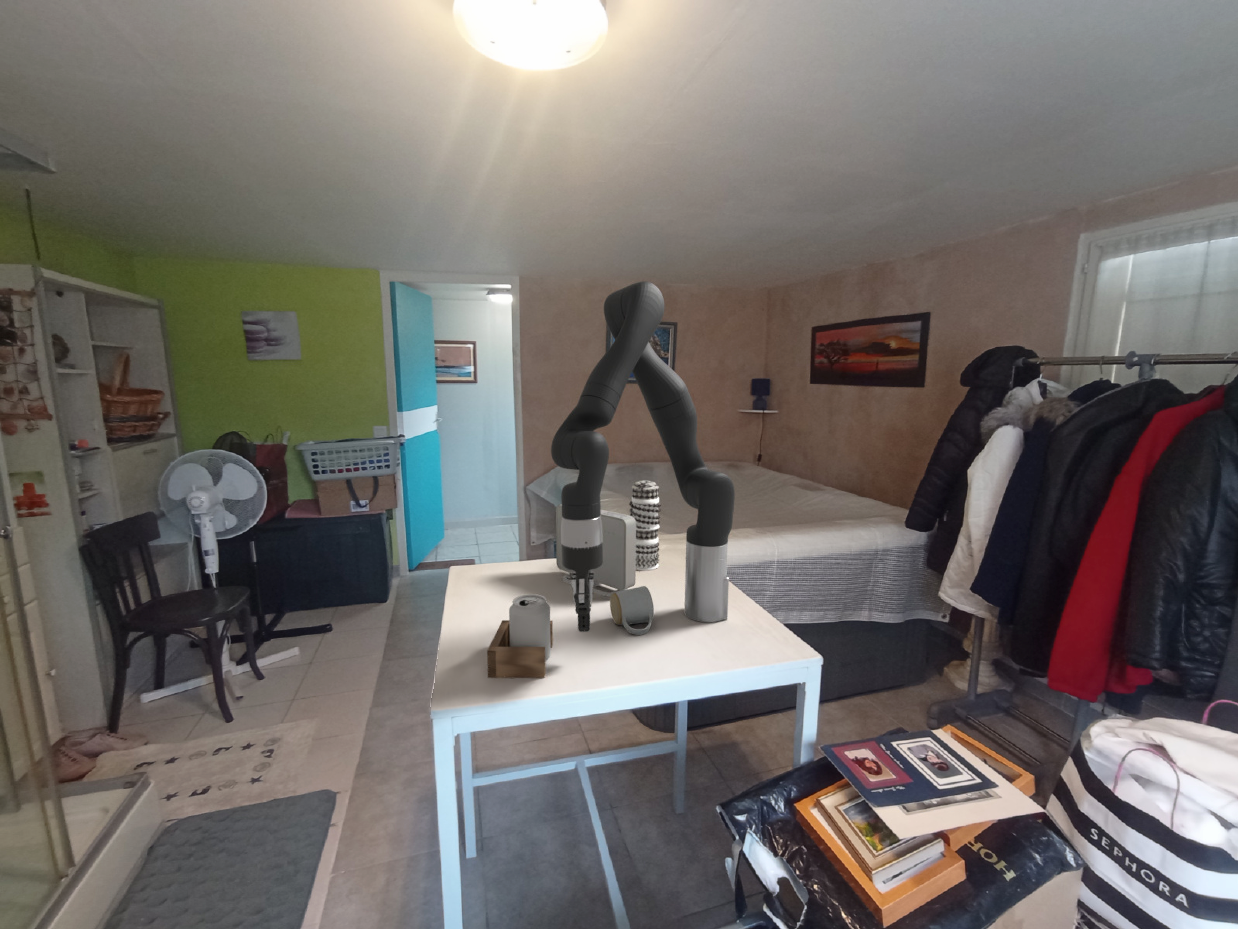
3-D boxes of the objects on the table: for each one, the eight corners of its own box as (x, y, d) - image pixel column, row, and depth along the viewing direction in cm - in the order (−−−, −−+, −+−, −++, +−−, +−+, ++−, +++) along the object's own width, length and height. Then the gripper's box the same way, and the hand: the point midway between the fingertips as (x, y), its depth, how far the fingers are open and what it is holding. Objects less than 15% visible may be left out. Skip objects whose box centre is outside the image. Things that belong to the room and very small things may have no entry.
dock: (552, 644, 105) (552, 620, 104) (544, 677, 93) (544, 651, 92) (502, 644, 105) (502, 620, 104) (487, 677, 92) (487, 650, 92)
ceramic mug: (608, 617, 118) (608, 585, 117) (641, 613, 120) (642, 581, 119) (623, 639, 108) (624, 604, 107) (660, 633, 110) (661, 599, 109)
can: (510, 652, 102) (509, 592, 100) (549, 649, 103) (549, 590, 101) (509, 672, 94) (508, 608, 93) (551, 668, 96) (550, 606, 94)
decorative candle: (634, 572, 148) (635, 485, 144) (624, 562, 157) (625, 479, 153) (664, 569, 150) (666, 483, 147) (653, 559, 159) (655, 478, 156)
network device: (550, 576, 144) (549, 505, 141) (573, 569, 150) (573, 500, 147) (619, 601, 127) (619, 521, 124) (642, 592, 133) (643, 515, 130)
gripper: (602, 550, 89) (604, 646, 91) (602, 530, 102) (604, 614, 104) (557, 551, 89) (561, 647, 91) (564, 530, 102) (566, 615, 104)
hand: (584, 629), depth 98 cm, fingers closed
